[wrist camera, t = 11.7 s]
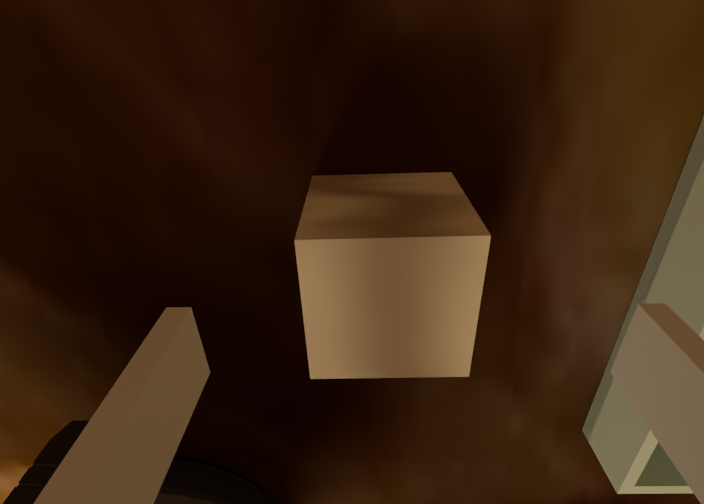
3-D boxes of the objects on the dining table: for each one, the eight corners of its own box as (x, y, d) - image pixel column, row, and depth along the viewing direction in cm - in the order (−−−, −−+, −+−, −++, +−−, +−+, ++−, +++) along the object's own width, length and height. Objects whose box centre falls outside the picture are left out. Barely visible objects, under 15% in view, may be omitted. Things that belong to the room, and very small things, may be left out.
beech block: (321, 288, 21) (310, 379, 15) (312, 175, 18) (294, 239, 12) (440, 285, 20) (468, 376, 15) (450, 171, 17) (490, 235, 12)
